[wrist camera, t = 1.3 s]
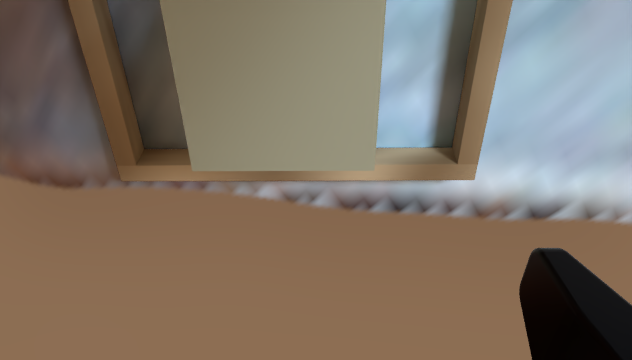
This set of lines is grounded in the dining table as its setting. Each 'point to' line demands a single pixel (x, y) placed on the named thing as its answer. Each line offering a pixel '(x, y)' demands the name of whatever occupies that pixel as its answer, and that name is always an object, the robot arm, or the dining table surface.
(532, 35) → the dining table surface
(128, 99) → the tan thin square frame
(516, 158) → the dining table surface
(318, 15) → the sage block
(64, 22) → the dining table surface
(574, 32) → the dining table surface
